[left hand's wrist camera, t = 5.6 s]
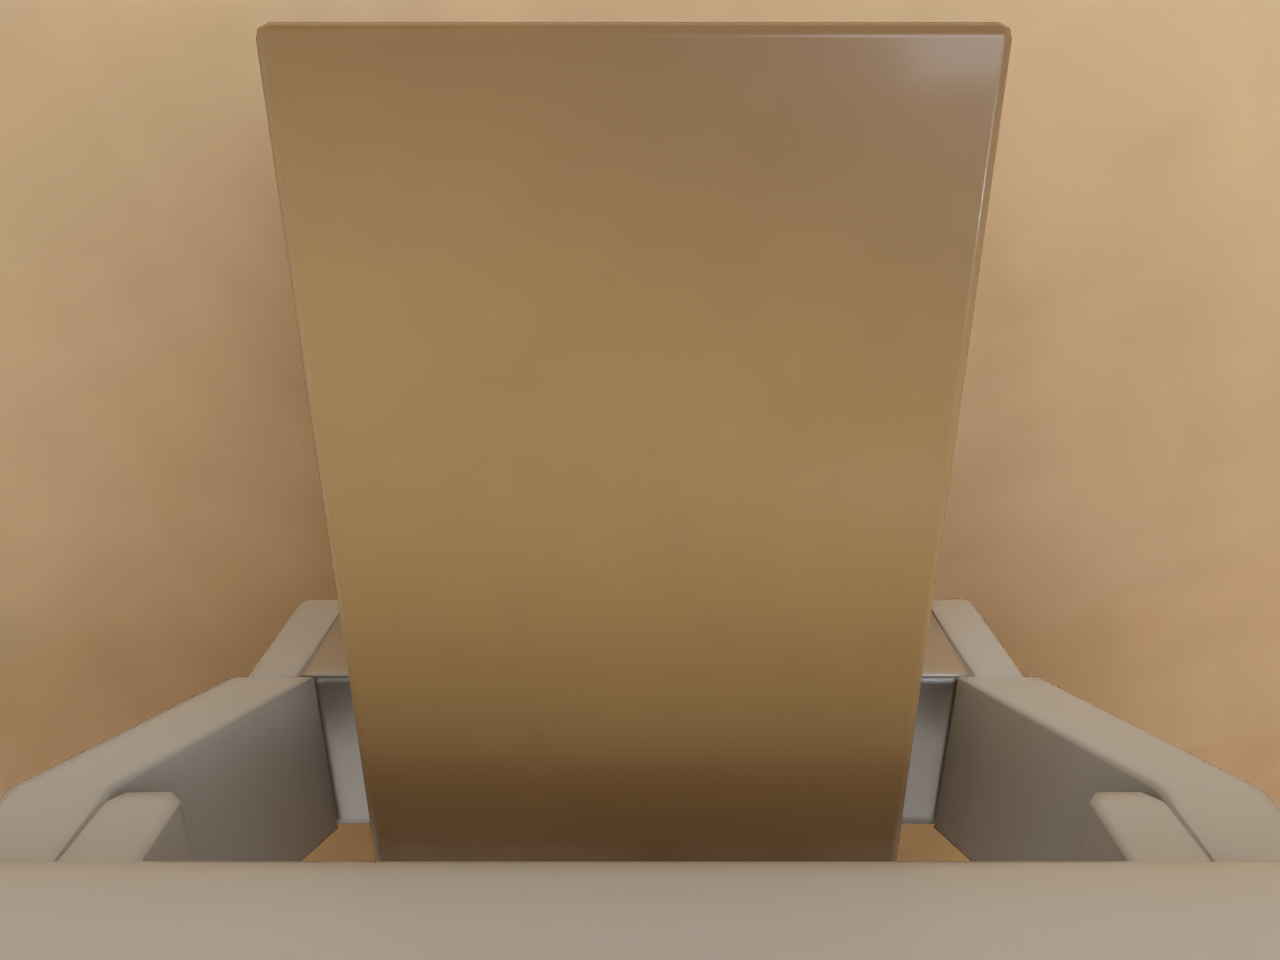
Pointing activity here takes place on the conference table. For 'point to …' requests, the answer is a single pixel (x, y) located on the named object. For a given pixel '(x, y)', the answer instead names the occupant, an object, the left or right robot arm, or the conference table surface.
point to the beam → (634, 415)
